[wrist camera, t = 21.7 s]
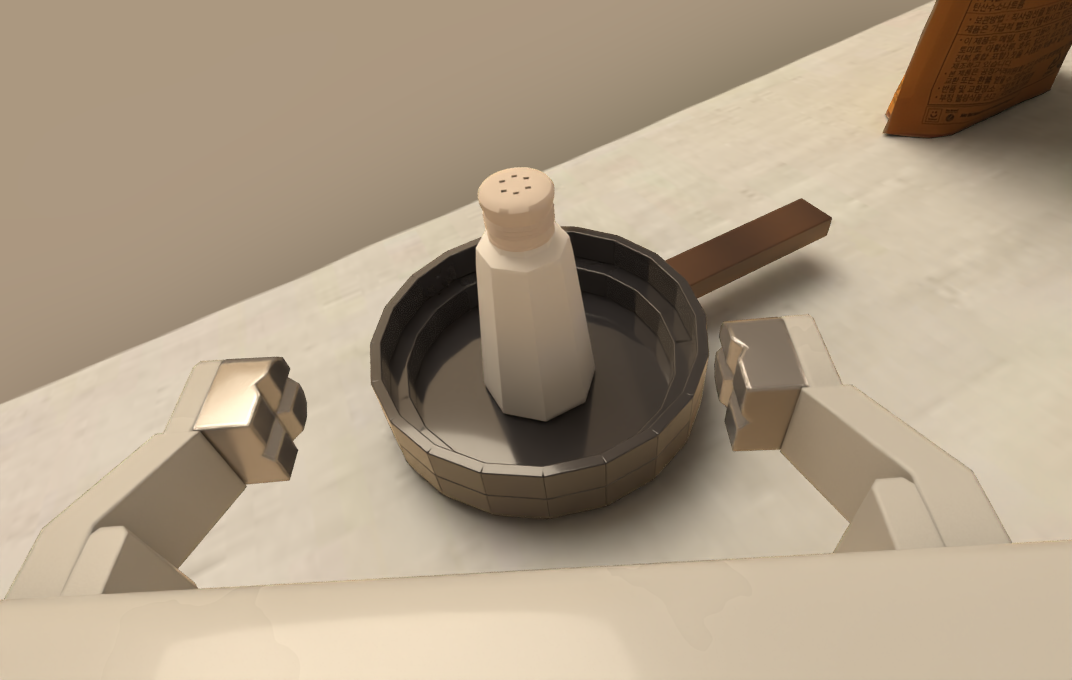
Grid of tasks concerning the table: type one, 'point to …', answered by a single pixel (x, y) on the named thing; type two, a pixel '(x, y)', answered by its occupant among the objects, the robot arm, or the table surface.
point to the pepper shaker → (530, 300)
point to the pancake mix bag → (979, 63)
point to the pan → (571, 438)
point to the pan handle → (751, 246)
